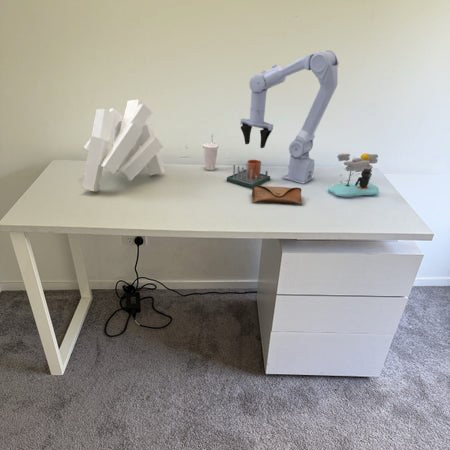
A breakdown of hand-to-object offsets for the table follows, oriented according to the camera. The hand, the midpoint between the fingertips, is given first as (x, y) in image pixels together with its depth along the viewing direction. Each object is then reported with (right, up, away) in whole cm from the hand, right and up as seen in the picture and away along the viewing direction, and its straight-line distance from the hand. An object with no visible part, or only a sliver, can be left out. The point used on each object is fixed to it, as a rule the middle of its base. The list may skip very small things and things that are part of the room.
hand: (254, 145), depth 159 cm
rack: (-3, -16, -6) cm, 18 cm away
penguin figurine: (+36, -23, -13) cm, 45 cm away
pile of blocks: (-51, -17, -10) cm, 54 cm away
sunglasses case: (+6, -28, -21) cm, 36 cm away
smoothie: (-19, -9, +3) cm, 21 cm away
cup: (-1, -15, -7) cm, 17 cm away
